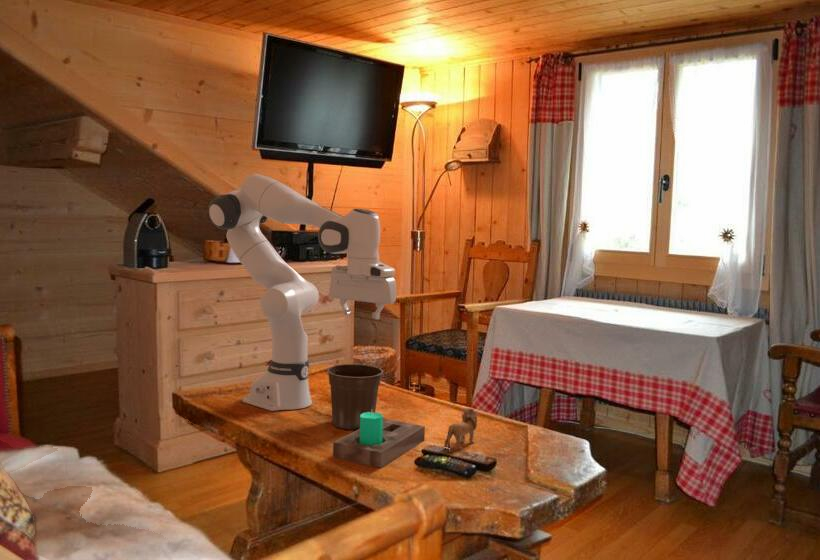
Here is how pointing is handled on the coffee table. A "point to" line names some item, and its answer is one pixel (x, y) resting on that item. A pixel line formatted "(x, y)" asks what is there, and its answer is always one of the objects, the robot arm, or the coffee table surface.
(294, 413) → the coffee table surface
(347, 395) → the plant pot
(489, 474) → the coffee table surface
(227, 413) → the coffee table surface
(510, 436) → the coffee table surface
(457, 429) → the lion figurine
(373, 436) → the candle
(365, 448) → the socket block
